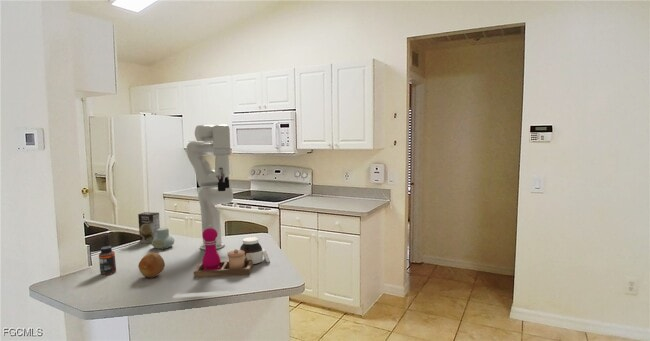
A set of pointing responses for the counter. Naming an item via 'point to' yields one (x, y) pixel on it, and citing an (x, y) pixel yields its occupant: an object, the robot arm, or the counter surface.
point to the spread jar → (253, 250)
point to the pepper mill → (210, 249)
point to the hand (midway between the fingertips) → (223, 189)
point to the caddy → (223, 270)
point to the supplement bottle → (107, 261)
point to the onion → (151, 265)
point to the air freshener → (163, 239)
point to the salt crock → (236, 259)
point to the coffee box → (148, 226)
